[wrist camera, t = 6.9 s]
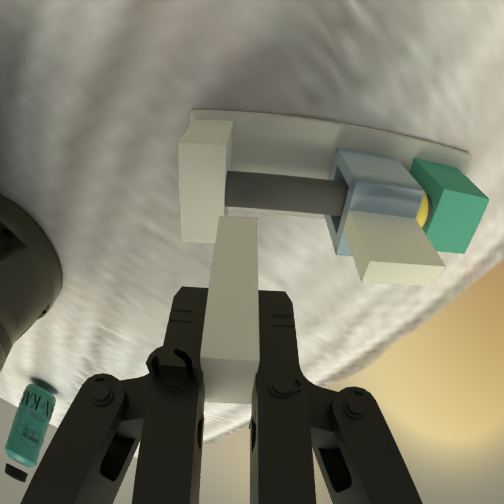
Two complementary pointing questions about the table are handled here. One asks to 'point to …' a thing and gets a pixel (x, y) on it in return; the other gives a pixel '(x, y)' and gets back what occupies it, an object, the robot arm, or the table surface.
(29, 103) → the table surface
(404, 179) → the pale blue hollow box
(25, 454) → the beverage bottle
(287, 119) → the slider rail
